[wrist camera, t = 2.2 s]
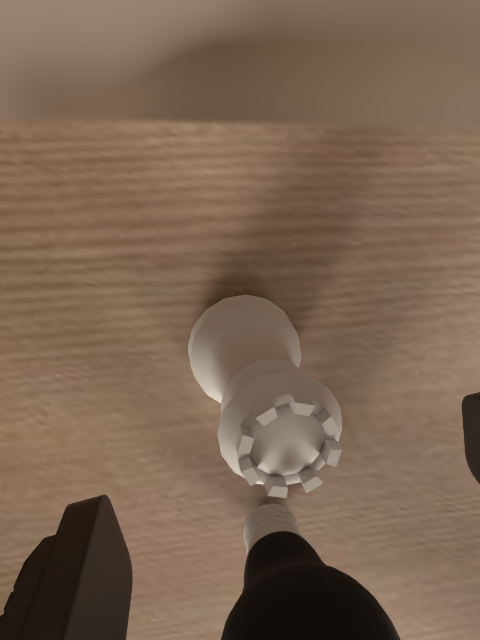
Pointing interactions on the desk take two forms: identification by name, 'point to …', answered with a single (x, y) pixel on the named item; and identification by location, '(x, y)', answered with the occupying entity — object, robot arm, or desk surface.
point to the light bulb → (298, 589)
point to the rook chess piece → (264, 395)
